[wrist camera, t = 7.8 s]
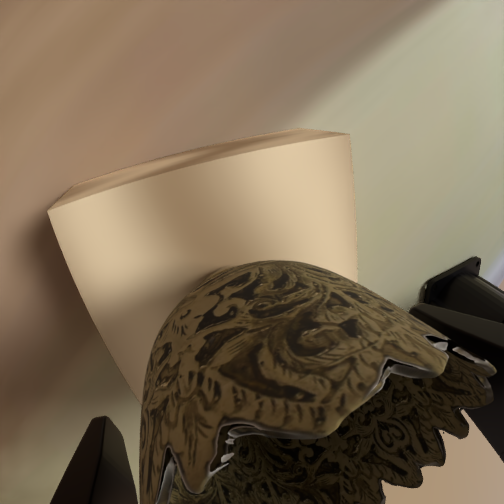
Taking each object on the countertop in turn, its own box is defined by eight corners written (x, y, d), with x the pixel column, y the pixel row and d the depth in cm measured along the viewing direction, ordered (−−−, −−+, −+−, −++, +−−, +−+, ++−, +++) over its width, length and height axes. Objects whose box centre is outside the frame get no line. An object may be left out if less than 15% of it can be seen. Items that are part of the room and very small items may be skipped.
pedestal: (299, 128, 14) (349, 134, 10) (318, 310, 18) (355, 352, 15) (73, 185, 12) (47, 211, 8) (146, 366, 16) (153, 422, 13)
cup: (105, 360, 11) (116, 574, 4) (170, 165, 9) (269, 346, 2) (273, 388, 14) (358, 536, 7) (357, 243, 12) (527, 368, 5)
